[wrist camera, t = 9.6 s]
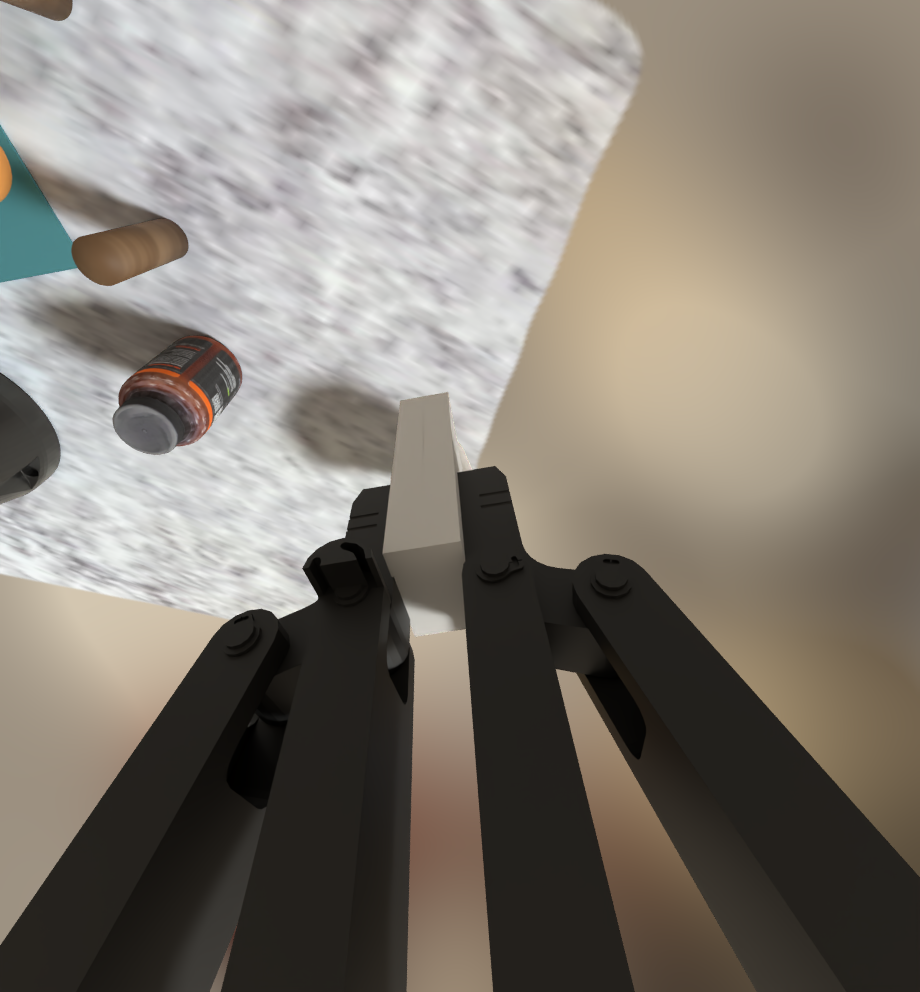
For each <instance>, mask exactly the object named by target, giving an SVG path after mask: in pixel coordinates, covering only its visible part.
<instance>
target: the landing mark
mask: <svg viewBox="0 0 920 992" xmlns="http://www.w3.org/2000/svg"><path fill="white" fill-rule="evenodd" d="M0 146H1V147H2V149H3V151H4V152H5V154H6V156H7V159H8V161H9V164H10V167H11V172H12V185H11V189H10V191H9V193H8V195H7V196H6V198H4V199H3V200H2V201H1V202H0V282H5V281H11V280H16V279H21V278H27V277H32V276H37V275H43V274H48V273H53V272H59V271H64V270H69V269H74V268H78V267H77V266H76V264H75V262H74V260H73V257H72V253H71V248H72V244H73V242H72V241H71V239H70V238H69V236H68V234H67V233H66V231H65V229H64V228H63V226H62V225H61V223H60V221H59V220H58V218H57V216H56V215H55V213H54V212H53V210H52V208H51V207H50V205H49V203H48V202H47V200H46V199H45V197H44V195H43V194H42V192H41V190H40V189H39V187H38V186H37V184H36V182H35V181H34V179H33V177H32V176H31V174H30V173H29V171H28V169H27V168H26V166H25V164H24V163H23V161H22V159H21V158H20V156H19V155H18V153H17V151H16V150H15V148H14V146H13V145H12V143H11V142H10V140H9V138H8V137H7V135H6V133H5V132H4V130H3V129H2V127H1V125H0Z"/></svg>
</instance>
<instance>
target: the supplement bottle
mask: <svg viewBox="0 0 920 992" xmlns="http://www.w3.org/2000/svg"><path fill="white" fill-rule="evenodd" d="M241 384H242V371H241V367H240V365H239V363H238V361H237V359H236V358H235V356H234V355H233V354H232V353H231V352H230V351H229V350H228V349H227V348H226V347H225V346H223V345H222V344H221V343H219V342H217V341H215V340H213V339H211V338H208V337H204V336H187V337H184V338H181V339H180V340H178V341H176V342H174V343H173V344H172V345H171V346H169V347H168V348H167V349H166V350H164V351H163V352H162V353H160V354H159V355H158V356H157V357H155V358H154V359H153V360H151V361H150V362H149V363H148V364H146V365H145V366H144V367H142V368H141V369H140V370H138V371H137V372H136V373H134V374H133V375H132V376H131V377H130V378H129V379H127V381H126V382H125V383H124V384H123V385H122V387H121V389H120V392H119V406H120V407H119V408H118V409H117V410H116V412H115V413H114V416H113V426H114V429H115V431H116V433H117V434H118V436H119V437H120V438H121V439H122V440H123V441H124V442H125V443H126V444H128V445H129V446H131V447H132V448H134V449H136V450H138V451H141V452H143V453H147V454H153V455H160V454H165V453H168V452H170V451H171V450H173V449H174V448H175V447H176V446H185V445H189V444H192V443H194V442H196V441H198V440H199V439H200V438H201V437H202V436H203V435H204V434H205V433H206V432H207V430H208V429H209V428H210V427H211V425H212V424H213V423H214V421H215V420H216V419H217V418H218V416H219V415H220V414H221V413H222V411H223V410H224V409H225V407H226V406H227V405H228V404H229V402H230V401H231V400H232V398H233V397H234V396H235V395H236V393H237V392H238V390H239V388H240V386H241Z"/></svg>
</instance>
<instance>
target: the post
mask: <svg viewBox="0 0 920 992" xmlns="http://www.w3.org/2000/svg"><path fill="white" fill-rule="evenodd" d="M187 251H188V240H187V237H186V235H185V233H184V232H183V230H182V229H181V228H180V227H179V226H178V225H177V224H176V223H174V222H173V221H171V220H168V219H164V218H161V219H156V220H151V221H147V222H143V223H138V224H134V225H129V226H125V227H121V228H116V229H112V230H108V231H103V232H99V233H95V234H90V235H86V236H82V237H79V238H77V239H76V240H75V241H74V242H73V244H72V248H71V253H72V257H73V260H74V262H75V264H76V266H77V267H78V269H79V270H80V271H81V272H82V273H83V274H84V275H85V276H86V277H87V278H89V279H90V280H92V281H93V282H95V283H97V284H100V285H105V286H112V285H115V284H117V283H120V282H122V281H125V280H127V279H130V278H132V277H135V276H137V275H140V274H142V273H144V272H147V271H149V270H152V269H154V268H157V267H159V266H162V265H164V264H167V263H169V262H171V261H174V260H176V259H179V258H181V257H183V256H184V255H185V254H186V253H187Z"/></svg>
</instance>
